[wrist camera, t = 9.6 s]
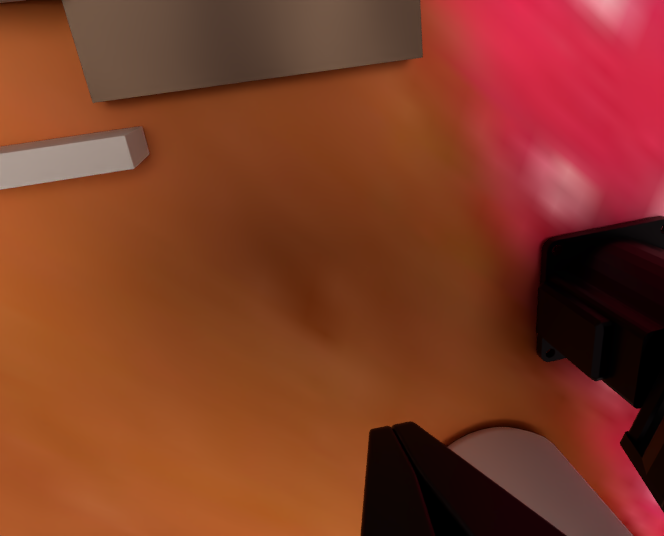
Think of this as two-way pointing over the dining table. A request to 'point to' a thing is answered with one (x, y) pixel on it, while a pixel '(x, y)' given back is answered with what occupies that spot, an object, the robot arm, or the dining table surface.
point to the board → (232, 40)
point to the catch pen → (72, 157)
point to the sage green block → (3, 0)
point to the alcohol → (539, 479)
